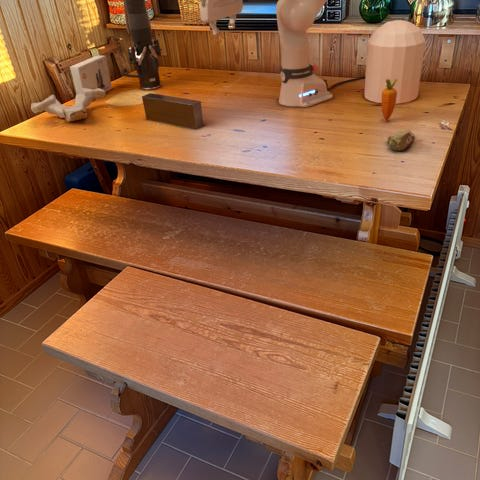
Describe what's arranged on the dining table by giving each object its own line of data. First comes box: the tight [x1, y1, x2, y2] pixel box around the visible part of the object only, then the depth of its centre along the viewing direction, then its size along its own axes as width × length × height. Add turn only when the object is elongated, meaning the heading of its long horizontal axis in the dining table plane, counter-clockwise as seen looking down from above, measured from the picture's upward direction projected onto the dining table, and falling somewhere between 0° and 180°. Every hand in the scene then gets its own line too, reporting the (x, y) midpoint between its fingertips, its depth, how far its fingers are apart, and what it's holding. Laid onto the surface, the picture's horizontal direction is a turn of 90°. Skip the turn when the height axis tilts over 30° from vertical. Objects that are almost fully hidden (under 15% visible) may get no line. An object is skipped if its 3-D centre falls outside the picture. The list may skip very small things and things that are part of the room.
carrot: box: [380, 79, 397, 122], centre depth 161 cm, size 5×5×15 cm
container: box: [363, 19, 426, 105], centre depth 179 cm, size 21×21×28 cm
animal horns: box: [30, 88, 107, 123], centre depth 195 cm, size 28×26×12 cm
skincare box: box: [69, 54, 113, 95], centre depth 218 cm, size 21×6×16 cm, turn 158°
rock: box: [387, 129, 416, 152], centre depth 146 cm, size 11×6×10 cm
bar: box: [141, 92, 205, 130], centre depth 180 cm, size 27×5×9 cm, turn 54°
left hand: (148, 71), depth 178 cm, fingers open, 8 cm apart
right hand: (224, 31), depth 165 cm, fingers open, 8 cm apart
